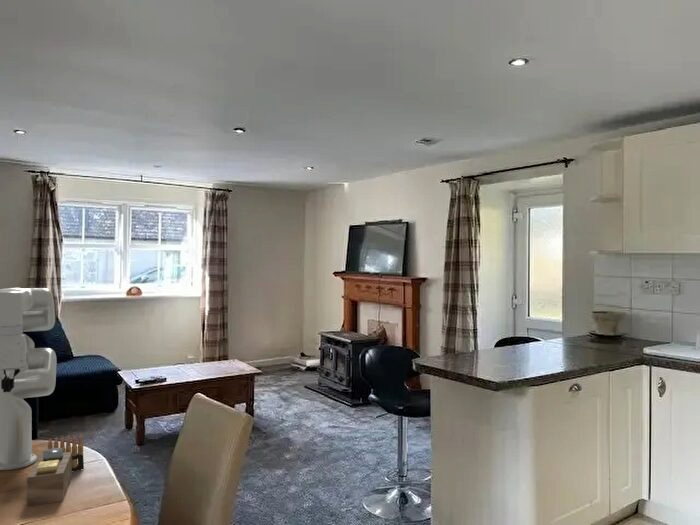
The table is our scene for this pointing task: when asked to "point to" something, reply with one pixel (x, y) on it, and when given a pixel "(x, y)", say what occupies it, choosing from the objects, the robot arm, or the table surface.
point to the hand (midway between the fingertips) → (7, 391)
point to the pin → (53, 454)
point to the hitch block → (49, 482)
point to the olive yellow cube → (48, 466)
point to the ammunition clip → (74, 450)
